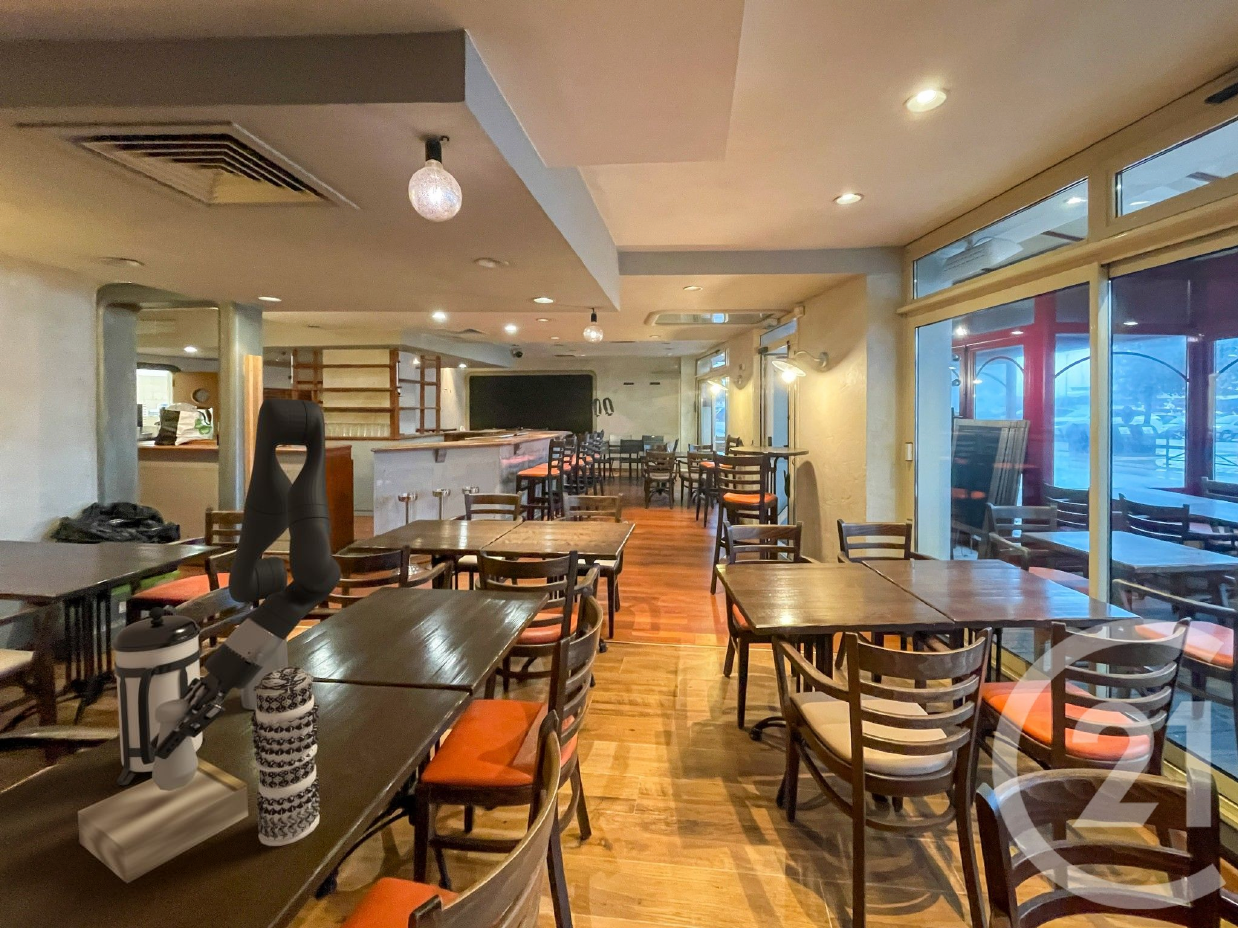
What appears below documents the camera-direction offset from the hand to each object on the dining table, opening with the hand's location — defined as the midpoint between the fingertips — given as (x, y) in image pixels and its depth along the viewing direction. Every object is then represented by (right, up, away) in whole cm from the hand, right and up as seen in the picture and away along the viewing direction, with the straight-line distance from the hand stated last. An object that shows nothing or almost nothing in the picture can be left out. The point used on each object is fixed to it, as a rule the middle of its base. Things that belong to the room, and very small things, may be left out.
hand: (157, 751), depth 89 cm
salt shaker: (+2, -6, +2) cm, 6 cm away
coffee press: (-14, -12, +19) cm, 26 cm away
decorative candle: (+19, -13, +2) cm, 23 cm away
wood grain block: (0, -13, +2) cm, 13 cm away
